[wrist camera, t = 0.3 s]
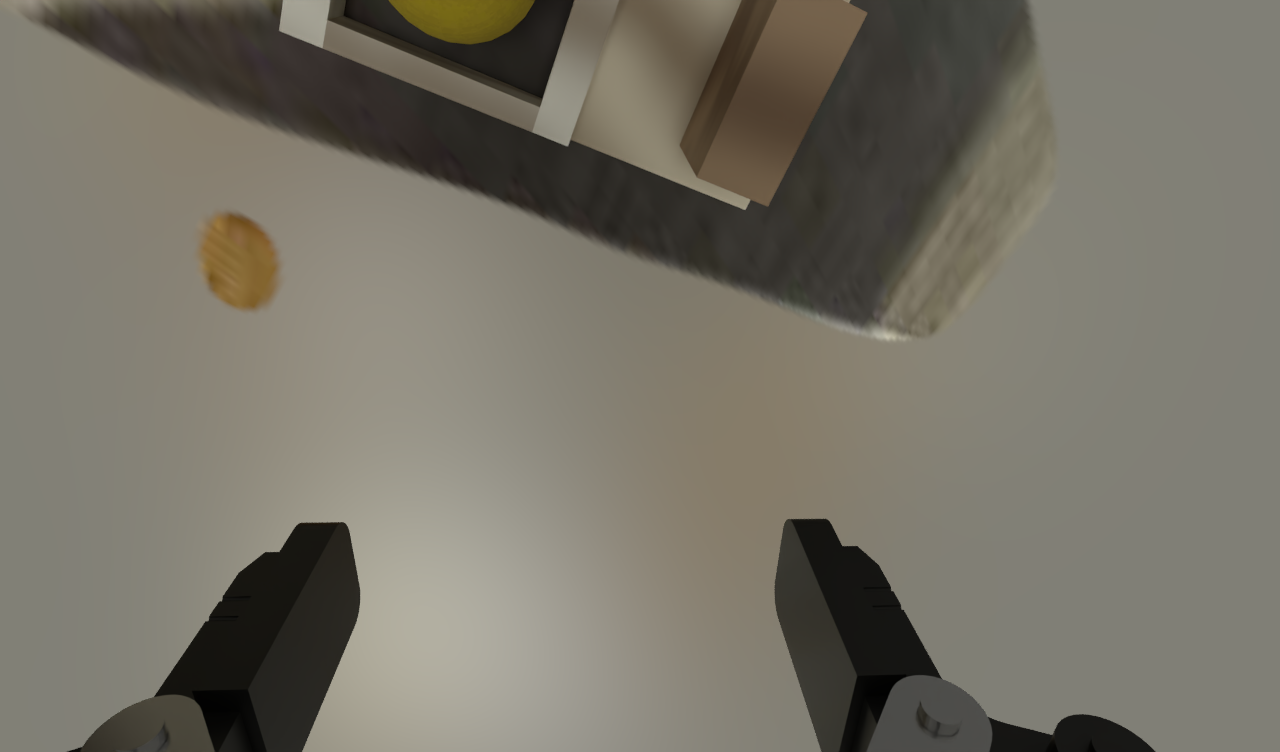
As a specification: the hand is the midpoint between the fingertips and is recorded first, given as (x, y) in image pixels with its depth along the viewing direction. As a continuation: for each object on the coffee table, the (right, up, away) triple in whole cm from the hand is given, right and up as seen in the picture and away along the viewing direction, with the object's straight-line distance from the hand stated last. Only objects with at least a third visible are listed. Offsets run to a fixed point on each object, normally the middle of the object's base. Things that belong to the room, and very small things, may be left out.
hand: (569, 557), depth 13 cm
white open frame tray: (0, +18, +14) cm, 23 cm away
